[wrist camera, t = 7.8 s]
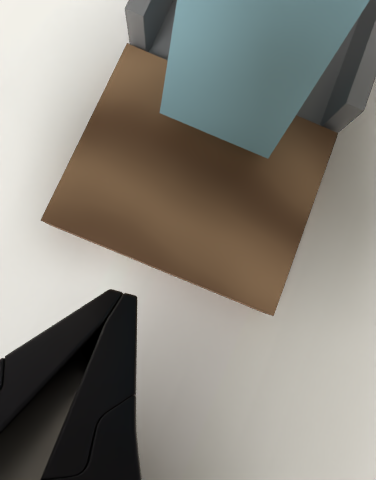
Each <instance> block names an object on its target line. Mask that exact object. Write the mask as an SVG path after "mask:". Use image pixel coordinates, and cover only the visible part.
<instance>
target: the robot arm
mask: <svg viewBox="0 0 376 480" xmlns="http://www.w3.org/2000/svg"><path fill="white" fill-rule="evenodd" d="M136 358H137V297H136V296H134V295H131V294H127V293H125V294H123V293H122V292H120V291H116V290H112V289H110V290H108V291H106V292H104V293H103V294H101V295H100V296H98V297H97V298H95V299H94V300H92V301H90V302H89V303H87V304H86V305H84V306H83V307H81V308H80V309H78V310H76V311H75V312H73V313H72V314H70V315H69V316H67V317H66V318H64V319H62V320H61V321H59V322H58V323H56V324H55V325H53V326H51V327H50V328H48V329H47V330H45V331H44V332H42V333H41V334H39V335H37V336H36V337H34V338H33V339H31V340H30V341H28V342H27V343H25V344H23V345H22V346H20V347H19V348H17V349H16V350H14V351H13V352H11V353H9V354H8V355H6V356H5V359H4V358H1V359H0V480H142V478H141V470H140V462H139V454H138V443H137V433H136Z"/></svg>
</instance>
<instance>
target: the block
mask: <svg viewBox="0 0 376 480" xmlns="http://www.w3.org/2000/svg"><path fill="white" fill-rule="evenodd" d="M369 1H370V0H177V4H176V10H175V17H174V23H173V30H172V36H171V43H170V49H169V55H168V62H167V68H166V75H165V81H164V88H163V94H162V101H161V107H160V113H161V114H163V115H166V116H168V117H170V118H173V119H175V120H177V121H180V122H182V123H185V124H187V125H189V126H192V127H194V128H196V129H199V130H201V131H203V132H206V133H208V134H211V135H213V136H215V137H218V138H220V139H222V140H225V141H227V142H229V143H232V144H234V145H237V146H239V147H241V148H244V149H246V150H248V151H251V152H253V153H256V154H258V155H260V156H263V157H265V158H267V159H268V158H269V157H270V155H271V153H272V152H273V150H274V149H275V147H276V146H277V144H278V142H279V141H280V139H281V138H282V136H283V135H284V133H285V132H286V130H287V128H288V127H289V125H290V124H291V122H292V121H293V119H294V118H295V116H296V114H297V113H298V111H299V110H300V108H301V107H302V105H303V104H304V102H305V100H306V99H307V97H308V96H309V94H310V93H311V91H312V89H313V88H314V86H315V85H316V83H317V82H318V80H319V79H320V77H321V75H322V74H323V72H324V71H325V69H326V68H327V66H328V65H329V63H330V61H331V60H332V58H333V57H334V55H335V54H336V52H337V51H338V49H339V47H340V46H341V44H342V43H343V41H344V40H345V38H346V36H347V35H348V33H349V32H350V30H351V29H352V27H353V26H354V24H355V22H356V21H357V19H358V18H359V16H360V15H361V13H362V12H363V10H364V8H365V7H366V5H367V4H368V2H369Z"/></svg>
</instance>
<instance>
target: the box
mask: <svg viewBox="0 0 376 480" xmlns="http://www.w3.org/2000/svg"><path fill="white" fill-rule="evenodd" d="M176 4H177V0H129V1H128V3H127V5H126V7H125V13H126V20H127V28H128V35H129V42H130V45H132V46H135V47H137V48H139V49H142V50H144V51H147V52H149V53H151V54H154V55H156V56H158V57H161V58H163V59H165V60H168V55H169V49H170V43H171V36H172V30H173V23H174V17H175V10H176ZM375 77H376V0H370V1H369V2H368V4H367V5H366V7H365V8H364V10H363V12H362V13H361V15H360V16H359V18H358V19H357V21H356V22H355V24H354V26H353V27H352V29H351V30H350V32H349V33H348V35H347V36H346V38H345V40H344V41H343V43H342V44H341V46H340V47H339V49H338V51H337V52H336V54H335V55H334V57H333V58H332V60H331V61H330V63H329V65H328V66H327V68H326V69H325V71H324V72H323V74H322V75H321V77H320V79H319V80H318V82H317V83H316V85H315V86H314V88H313V89H312V91H311V93H310V94H309V96H308V97H307V99H306V100H305V102H304V104H303V105H302V107H301V108H300V110H299V111H298V113H297V114H296V115H297V116H299V117H301V118H304V119H306V120H309V121H311V122H313V123H316V124H318V125H320V126H323V127H325V128H327V129H330V130H332V131H334V132H337V133H338V132H340V131H341V130H342V129H343V128H344V127H345V126H347V125H348V124H349V123H350V122H351V121H352V120H354V119H355V118H356V117H357V116H358V115H360V114H361V113H362V112H363V111H364V109H365V106H366V103H367V100H368V97H369V94H370V91H371V89H372V86H373V83H374V80H375Z"/></svg>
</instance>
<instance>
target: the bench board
mask: <svg viewBox="0 0 376 480" xmlns="http://www.w3.org/2000/svg"><path fill="white" fill-rule="evenodd" d="M167 62H168V60H165V59H163V58H161V57H158V56H156V55H154V54H151V53H149V52H147V51H144V50H142V49H139V48H137V47H135V46H132V45H130V44H128V43H127V45H126V47H125V49H124V51H123V53H122V55H121V57H120V59H119V61H118V63H117V65H116V67H115V69H114V71H113V73H112V75H111V77H110V79H109V81H108V83H107V86H106V88H105V90H104V92H103V94H102V96H101V98H100V100H99V102H98V104H97V106H96V108H95V110H94V112H93V114H92V116H91V118H90V120H89V122H88V124H87V126H86V129H85V131H84V133H83V135H82V137H81V139H80V141H79V143H78V145H77V147H76V149H75V151H74V153H73V155H72V157H71V159H70V161H69V163H68V165H67V167H66V169H65V172H64V174H63V176H62V178H61V180H60V182H59V184H58V186H57V188H56V190H55V192H54V194H53V196H52V198H51V200H50V202H49V204H48V206H47V208H46V210H45V212H44V214H43V217H42V219H41V221H43V222H45V223H47V224H49V225H51V226H54V227H56V228H58V229H61V230H63V231H66V232H68V233H71V234H73V235H75V236H78V237H80V238H83V239H85V240H88V241H90V242H93V243H95V244H97V245H100V246H102V247H105V248H107V249H110V250H112V251H114V252H117V253H119V254H122V255H124V256H127V257H129V258H131V259H134V260H136V261H139V262H141V263H144V264H146V265H149V266H151V267H153V268H156V269H158V270H161V271H163V272H166V273H168V274H170V275H173V276H175V277H178V278H180V279H183V280H185V281H188V282H190V283H192V284H195V285H197V286H200V287H202V288H205V289H207V290H209V291H212V292H214V293H217V294H219V295H222V296H224V297H226V298H229V299H231V300H234V301H236V302H239V303H241V304H244V305H246V306H248V307H251V308H253V309H256V310H258V311H261V312H263V313H266V314H269V315H272V316H274V313H275V310H276V308H277V305H278V302H279V299H280V296H281V293H282V291H283V288H284V285H285V282H286V279H287V276H288V274H289V271H290V268H291V265H292V262H293V259H294V257H295V254H296V251H297V248H298V245H299V242H300V240H301V237H302V234H303V231H304V228H305V225H306V223H307V220H308V217H309V214H310V211H311V208H312V206H313V203H314V200H315V197H316V194H317V192H318V189H319V186H320V183H321V180H322V177H323V175H324V172H325V169H326V166H327V163H328V160H329V158H330V155H331V152H332V149H333V146H334V143H335V141H336V138H337V135H338V133H337V132H334V131H332V130H330V129H327V128H325V127H323V126H320V125H318V124H316V123H313V122H311V121H309V120H306V119H304V118H301V117H299V116H297V115H296V116H295V118H294V119H293V121H292V122H291V124H290V125H289V127H288V128H287V130H286V132H285V133H284V135H283V136H282V138H281V139H280V141H279V142H278V144H277V146H276V147H275V149H274V150H273V152H272V153H271V155H270V157H269V158H268V159H267V158H265V157H263V156H260V155H258V154H256V153H253V152H251V151H248V150H246V149H244V148H241V147H239V146H237V145H234V144H232V143H229V142H227V141H225V140H222V139H220V138H218V137H215V136H213V135H211V134H208V133H206V132H203V131H201V130H199V129H196V128H194V127H192V126H189V125H187V124H185V123H182V122H180V121H177V120H175V119H173V118H170V117H168V116H166V115H163V114H161V113H160V107H161V101H162V94H163V88H164V81H165V75H166V68H167Z"/></svg>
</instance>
